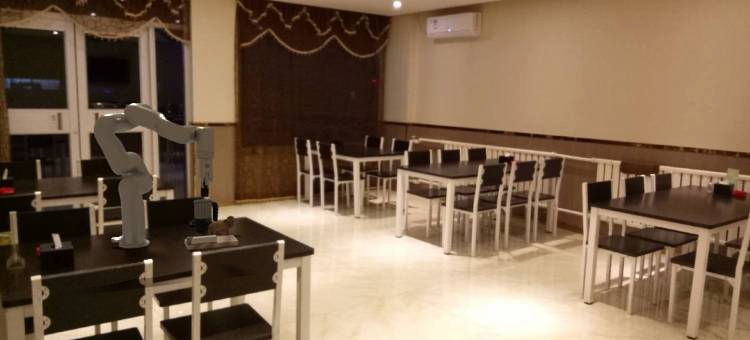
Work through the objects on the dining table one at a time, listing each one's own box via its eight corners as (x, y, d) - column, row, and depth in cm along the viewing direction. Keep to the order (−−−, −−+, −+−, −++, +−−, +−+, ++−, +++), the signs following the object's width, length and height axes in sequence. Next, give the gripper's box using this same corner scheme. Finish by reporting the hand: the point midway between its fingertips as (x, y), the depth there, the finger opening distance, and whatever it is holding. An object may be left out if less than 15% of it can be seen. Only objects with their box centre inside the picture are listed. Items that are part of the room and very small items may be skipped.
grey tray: (188, 250, 250) (187, 240, 249) (184, 243, 260) (184, 234, 260) (238, 245, 259) (238, 235, 258) (232, 239, 270) (232, 230, 269)
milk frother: (206, 231, 283) (206, 202, 281) (178, 229, 287) (178, 200, 285) (221, 225, 296) (220, 197, 295) (194, 223, 300) (193, 196, 298)
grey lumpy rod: (187, 244, 250) (187, 238, 249) (186, 243, 252) (186, 237, 252) (216, 241, 255) (216, 235, 255) (215, 240, 258) (215, 234, 257)
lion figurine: (232, 231, 284) (231, 214, 283) (237, 234, 280) (236, 216, 279) (204, 236, 274) (203, 217, 273) (208, 238, 270) (208, 219, 269)
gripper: (217, 157, 242) (216, 199, 244) (211, 153, 255) (210, 193, 257) (199, 157, 238) (198, 200, 241) (193, 153, 252) (193, 193, 254)
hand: (204, 196), depth 249 cm, fingers closed
